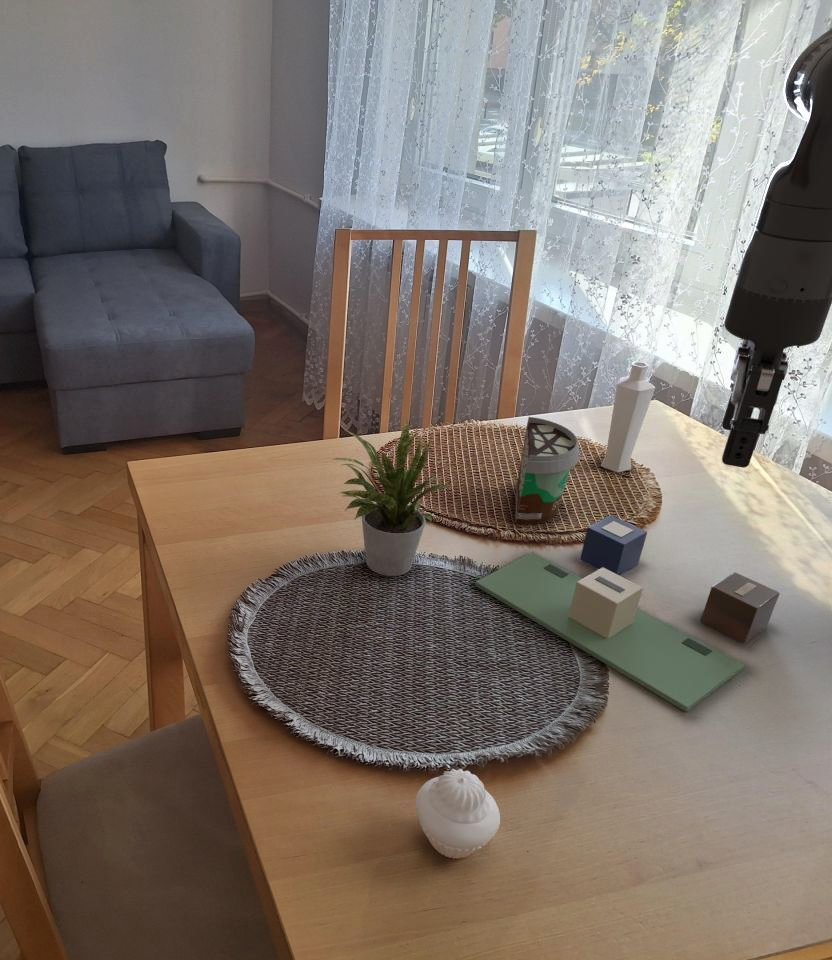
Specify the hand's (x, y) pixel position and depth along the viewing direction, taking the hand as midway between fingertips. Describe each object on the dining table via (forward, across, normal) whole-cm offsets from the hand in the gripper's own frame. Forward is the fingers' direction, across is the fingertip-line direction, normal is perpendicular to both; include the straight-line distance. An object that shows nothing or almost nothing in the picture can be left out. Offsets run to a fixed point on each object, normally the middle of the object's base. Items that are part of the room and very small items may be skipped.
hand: (733, 446), depth 84 cm
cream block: (+18, -9, +8) cm, 21 cm away
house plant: (+18, -7, +31) cm, 37 cm away
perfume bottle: (+18, +29, +10) cm, 35 cm away
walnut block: (+18, -3, -4) cm, 19 cm away
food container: (+18, +12, +17) cm, 28 cm away
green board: (+18, -9, +8) cm, 22 cm away
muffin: (+18, -43, +15) cm, 49 cm away
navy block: (+18, +3, +8) cm, 20 cm away
